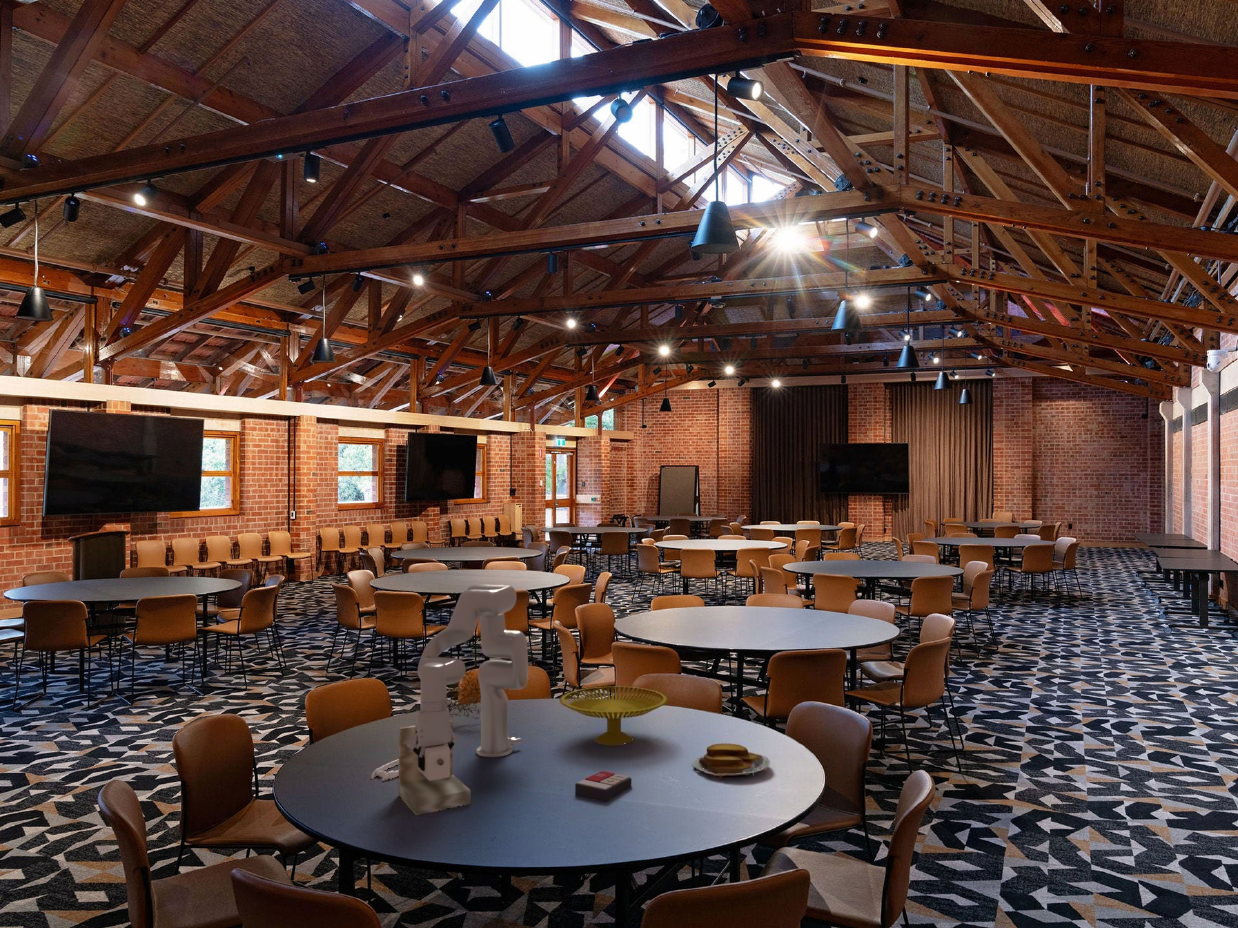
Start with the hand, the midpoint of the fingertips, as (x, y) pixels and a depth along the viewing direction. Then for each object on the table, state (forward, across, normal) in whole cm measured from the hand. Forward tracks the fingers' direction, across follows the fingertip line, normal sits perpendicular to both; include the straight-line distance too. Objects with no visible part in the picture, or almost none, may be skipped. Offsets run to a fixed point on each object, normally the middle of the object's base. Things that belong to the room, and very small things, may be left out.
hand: (433, 766), depth 238 cm
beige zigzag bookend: (+9, 0, +1) cm, 9 cm away
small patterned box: (+10, -46, +20) cm, 51 cm away
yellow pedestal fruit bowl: (+9, -75, -23) cm, 79 cm away
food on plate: (+10, -92, +25) cm, 95 cm away
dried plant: (+9, -41, -70) cm, 81 cm away
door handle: (+10, 0, -32) cm, 33 cm away
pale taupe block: (+2, 0, 0) cm, 2 cm away
